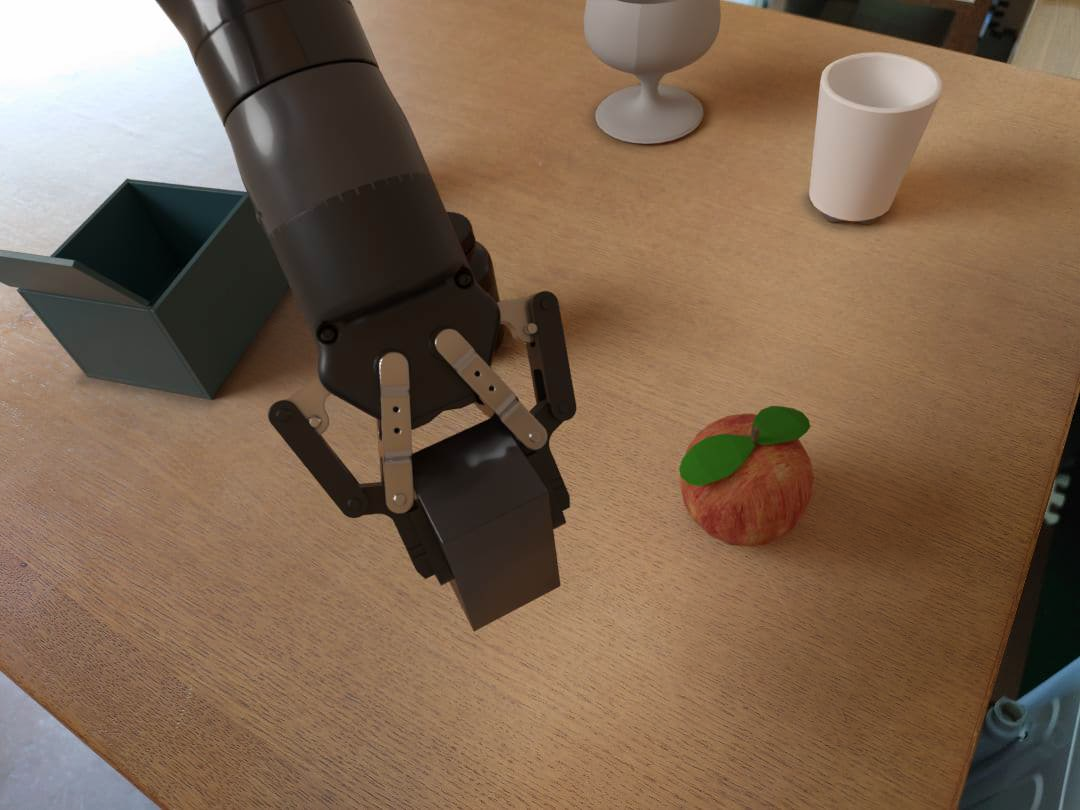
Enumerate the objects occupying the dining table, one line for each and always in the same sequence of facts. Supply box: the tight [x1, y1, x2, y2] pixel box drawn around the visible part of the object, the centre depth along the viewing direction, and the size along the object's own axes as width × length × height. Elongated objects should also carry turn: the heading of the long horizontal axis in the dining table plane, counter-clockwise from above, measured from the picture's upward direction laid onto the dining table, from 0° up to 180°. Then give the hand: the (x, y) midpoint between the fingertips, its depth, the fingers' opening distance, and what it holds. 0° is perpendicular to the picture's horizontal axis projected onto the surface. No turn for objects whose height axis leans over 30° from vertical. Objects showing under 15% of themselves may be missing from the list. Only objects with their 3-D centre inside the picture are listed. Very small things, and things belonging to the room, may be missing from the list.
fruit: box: [678, 405, 815, 548], centre depth 51 cm, size 9×10×10 cm
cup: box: [808, 51, 944, 226], centre depth 71 cm, size 10×10×13 cm
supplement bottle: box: [446, 210, 506, 353], centre depth 64 cm, size 7×7×12 cm
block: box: [412, 417, 562, 632], centre depth 37 cm, size 5×5×9 cm
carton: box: [16, 178, 290, 400], centre depth 68 cm, size 15×13×10 cm
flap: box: [0, 249, 149, 308], centre depth 56 cm, size 7×13×1 cm
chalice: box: [583, 0, 722, 145], centre depth 83 cm, size 14×14×15 cm
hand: (501, 549), depth 36 cm, fingers closed on block, 5 cm apart
